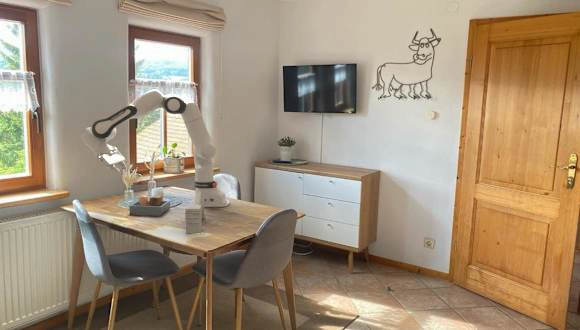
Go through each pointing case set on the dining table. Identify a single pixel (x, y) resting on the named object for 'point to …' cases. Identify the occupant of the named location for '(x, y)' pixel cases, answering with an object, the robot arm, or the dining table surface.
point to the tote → (149, 209)
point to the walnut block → (156, 201)
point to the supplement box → (193, 218)
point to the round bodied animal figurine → (202, 211)
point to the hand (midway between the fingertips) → (122, 170)
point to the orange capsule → (143, 200)
